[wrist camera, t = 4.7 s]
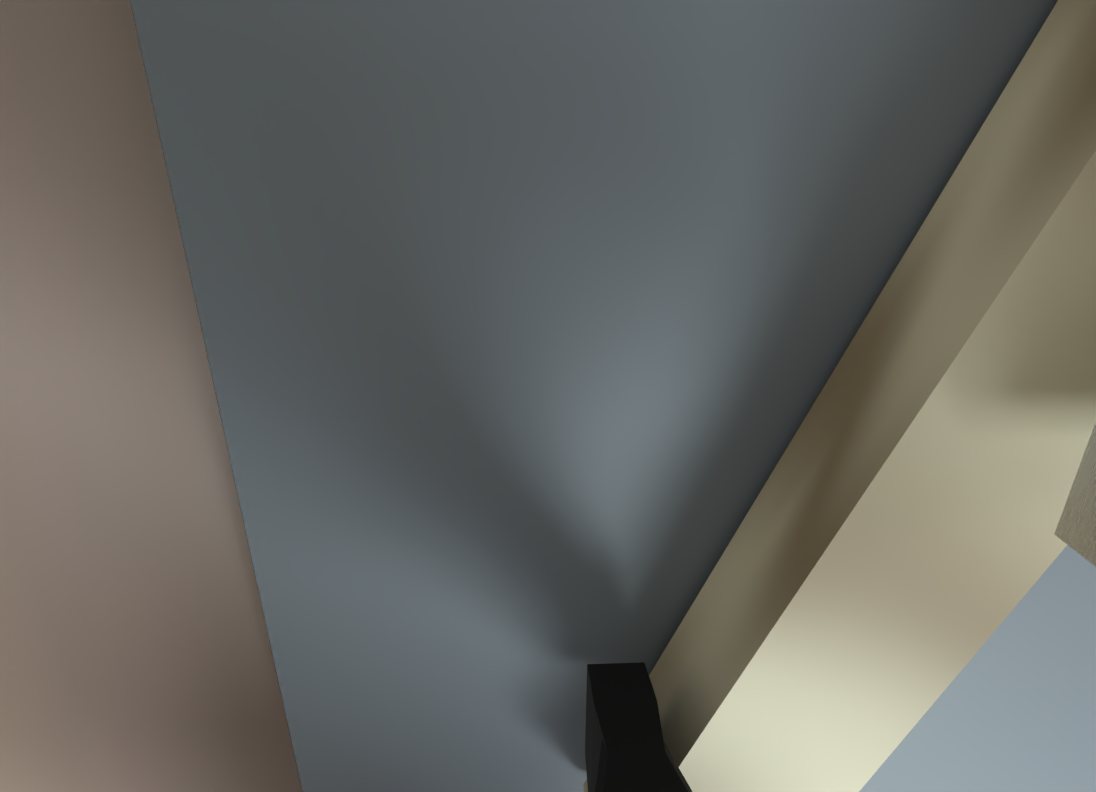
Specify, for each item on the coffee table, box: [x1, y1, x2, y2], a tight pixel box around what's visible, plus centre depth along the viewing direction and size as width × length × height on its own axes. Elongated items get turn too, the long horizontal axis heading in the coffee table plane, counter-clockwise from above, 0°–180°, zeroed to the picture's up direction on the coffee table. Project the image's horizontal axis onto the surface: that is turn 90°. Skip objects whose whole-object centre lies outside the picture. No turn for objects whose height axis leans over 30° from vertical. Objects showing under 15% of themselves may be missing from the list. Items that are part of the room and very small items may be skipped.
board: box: [130, 0, 1096, 792], centre depth 11 cm, size 21×18×1 cm
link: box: [583, 0, 1096, 792], centre depth 9 cm, size 18×4×3 cm, turn 158°
